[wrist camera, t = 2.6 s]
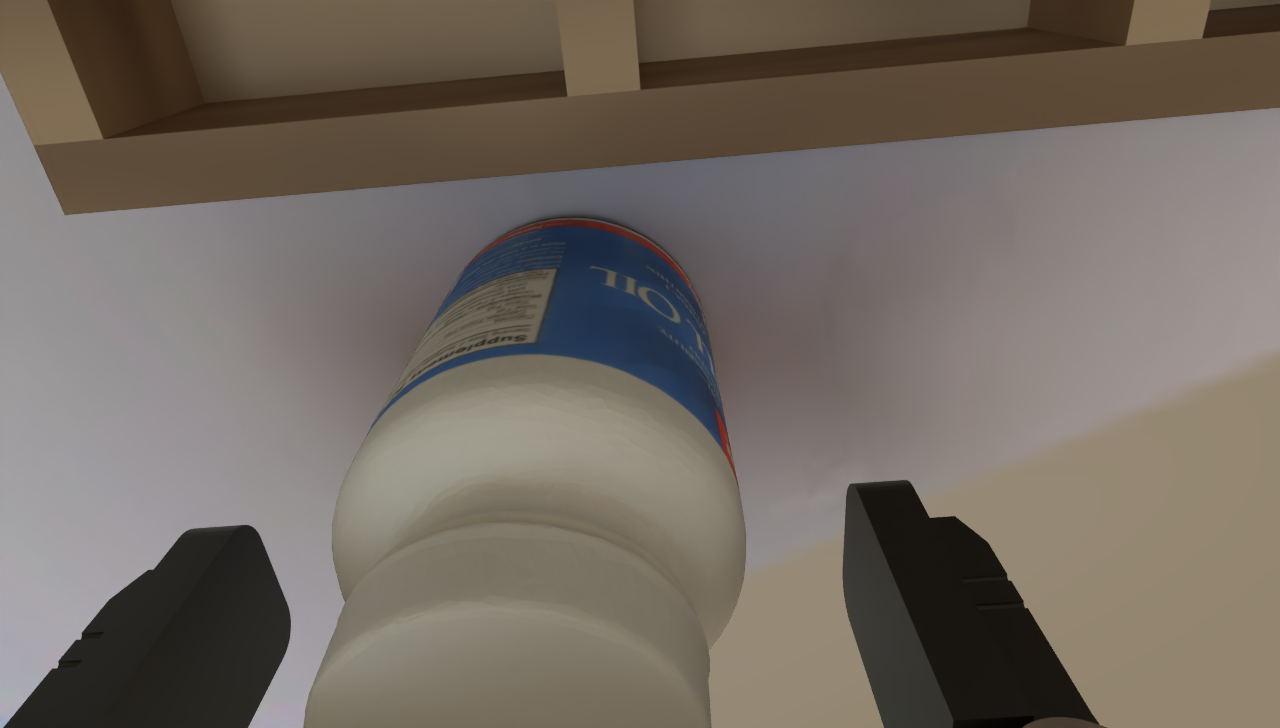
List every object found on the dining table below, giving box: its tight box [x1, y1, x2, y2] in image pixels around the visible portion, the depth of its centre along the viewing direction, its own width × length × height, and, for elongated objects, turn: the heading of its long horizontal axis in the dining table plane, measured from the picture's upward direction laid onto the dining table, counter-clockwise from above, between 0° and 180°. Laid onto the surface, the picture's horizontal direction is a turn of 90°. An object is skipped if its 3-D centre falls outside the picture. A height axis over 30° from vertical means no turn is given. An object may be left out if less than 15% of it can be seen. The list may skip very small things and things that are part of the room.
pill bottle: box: [304, 218, 746, 728], centre depth 12 cm, size 6×5×10 cm
